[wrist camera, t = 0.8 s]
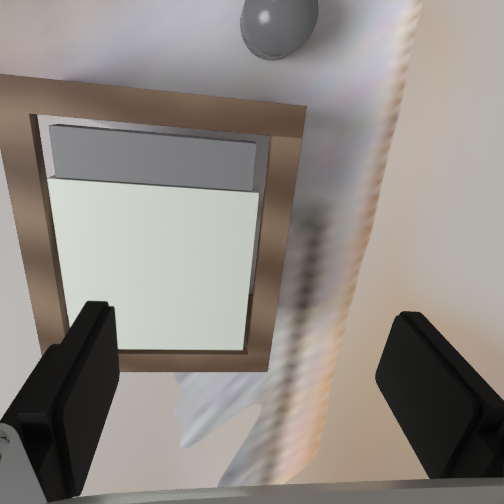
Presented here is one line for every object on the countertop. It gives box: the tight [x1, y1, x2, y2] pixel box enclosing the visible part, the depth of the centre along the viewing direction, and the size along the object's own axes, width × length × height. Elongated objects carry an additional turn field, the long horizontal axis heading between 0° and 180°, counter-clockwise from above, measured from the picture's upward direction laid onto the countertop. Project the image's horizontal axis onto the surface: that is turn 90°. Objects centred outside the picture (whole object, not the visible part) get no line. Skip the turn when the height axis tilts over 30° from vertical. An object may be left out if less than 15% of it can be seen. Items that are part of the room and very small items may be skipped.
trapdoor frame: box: [0, 74, 307, 372], centre depth 29 cm, size 22×19×10 cm
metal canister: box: [240, 0, 318, 60], centre depth 26 cm, size 5×5×5 cm
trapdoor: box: [47, 124, 259, 350], centre depth 26 cm, size 17×14×2 cm
